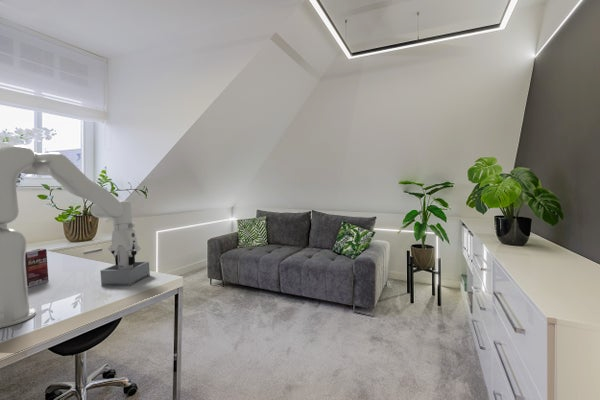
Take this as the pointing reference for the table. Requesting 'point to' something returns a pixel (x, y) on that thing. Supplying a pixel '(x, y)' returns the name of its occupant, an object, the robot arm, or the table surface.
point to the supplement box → (36, 267)
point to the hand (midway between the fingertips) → (125, 264)
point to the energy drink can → (123, 258)
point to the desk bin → (124, 275)
